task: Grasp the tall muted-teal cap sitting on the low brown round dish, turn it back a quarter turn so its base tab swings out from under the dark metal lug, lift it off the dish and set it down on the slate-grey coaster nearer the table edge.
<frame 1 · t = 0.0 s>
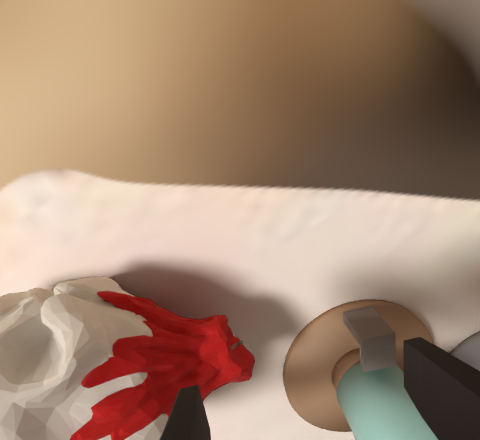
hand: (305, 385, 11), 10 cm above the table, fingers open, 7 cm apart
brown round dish: (357, 366, 24), on the table
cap: (370, 387, 22), point 2 cm above the table, touching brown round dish
multicoloured piece: (130, 326, 21), on the table
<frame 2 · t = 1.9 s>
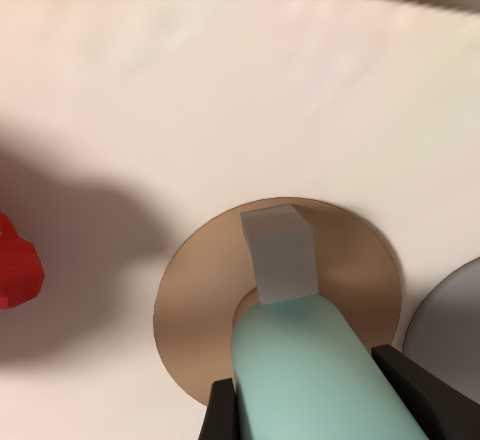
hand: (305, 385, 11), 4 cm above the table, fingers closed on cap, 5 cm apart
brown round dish: (278, 314, 15), on the table
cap: (289, 342, 13), point 2 cm above the table, touching gripper, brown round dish
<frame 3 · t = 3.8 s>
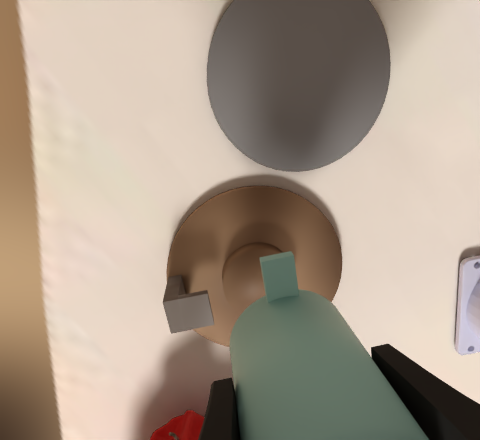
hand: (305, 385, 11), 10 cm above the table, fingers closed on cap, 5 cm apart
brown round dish: (255, 270, 21), on the table
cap: (287, 341, 13), point 8 cm above the table, touching gripper
coaster: (297, 79, 18), on the table
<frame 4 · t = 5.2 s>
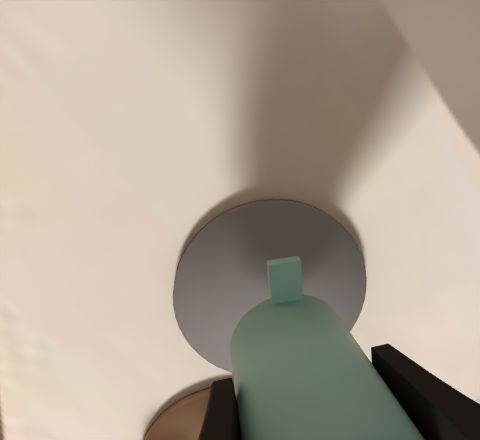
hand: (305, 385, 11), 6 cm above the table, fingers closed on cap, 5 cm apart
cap: (287, 345, 13), point 4 cm above the table, touching gripper
coaster: (270, 291, 17), on the table
when the fingers open (4 cm above the table, at t = 6.2 s): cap stays where it is, resting on coaster.
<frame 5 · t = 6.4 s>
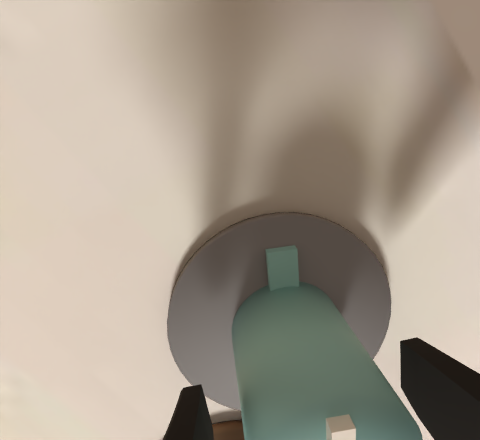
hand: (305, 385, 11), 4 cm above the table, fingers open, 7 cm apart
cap: (285, 329, 14), point 1 cm above the table, touching coaster
coaster: (279, 317, 15), on the table
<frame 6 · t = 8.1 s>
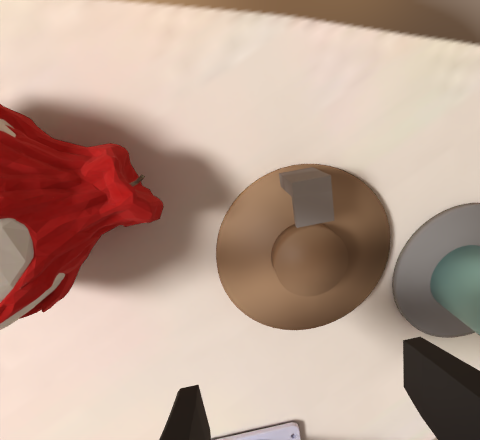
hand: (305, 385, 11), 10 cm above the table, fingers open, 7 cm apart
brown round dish: (302, 250, 21), on the table
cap: (463, 277, 22), point 1 cm above the table, touching coaster
coaster: (460, 271, 23), on the table
multicoloured piece: (31, 188, 18), on the table
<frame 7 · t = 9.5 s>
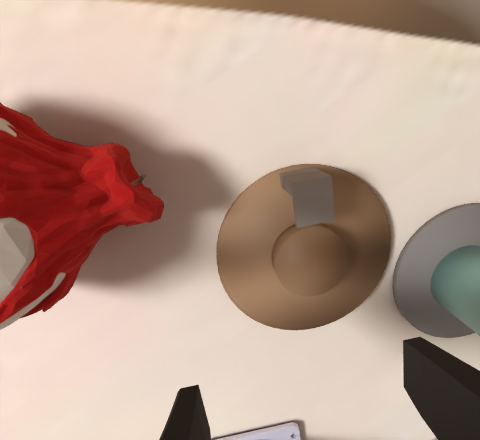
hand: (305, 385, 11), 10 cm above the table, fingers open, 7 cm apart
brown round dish: (302, 250, 21), on the table
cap: (463, 277, 22), point 1 cm above the table, touching coaster
coaster: (460, 271, 23), on the table
multicoloured piece: (31, 188, 18), on the table
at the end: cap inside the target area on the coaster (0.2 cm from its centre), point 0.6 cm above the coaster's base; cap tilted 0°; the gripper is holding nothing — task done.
